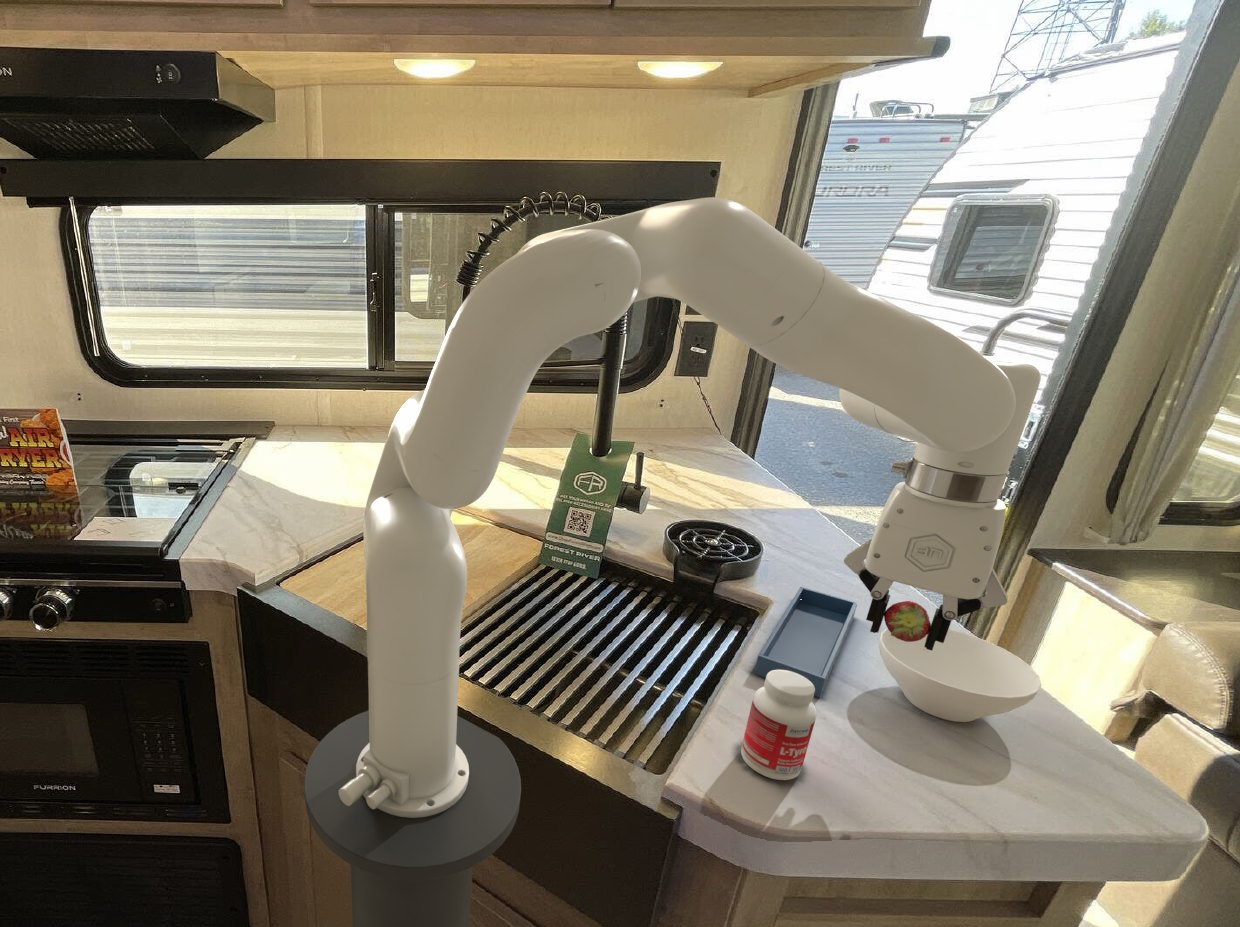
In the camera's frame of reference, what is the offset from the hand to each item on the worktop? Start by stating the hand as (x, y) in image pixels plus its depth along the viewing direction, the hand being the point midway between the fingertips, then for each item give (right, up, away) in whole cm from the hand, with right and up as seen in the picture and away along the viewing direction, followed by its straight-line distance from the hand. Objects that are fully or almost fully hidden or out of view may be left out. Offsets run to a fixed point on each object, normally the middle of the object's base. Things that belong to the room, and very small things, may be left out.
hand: (902, 634), depth 73 cm
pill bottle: (-14, -15, +2) cm, 21 cm away
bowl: (+14, -12, +12) cm, 22 cm away
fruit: (0, -1, 0) cm, 1 cm away
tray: (+4, -6, +25) cm, 26 cm away
